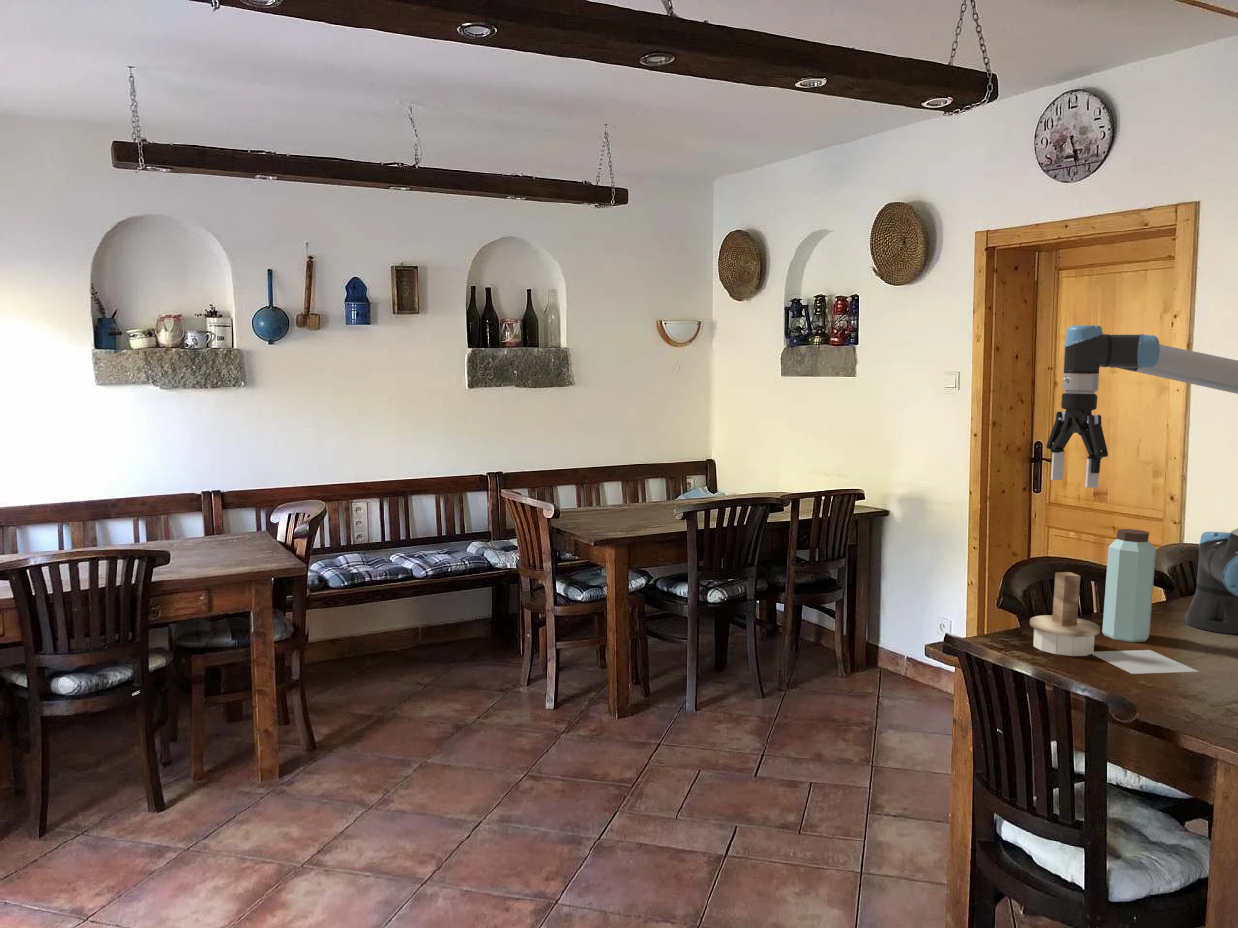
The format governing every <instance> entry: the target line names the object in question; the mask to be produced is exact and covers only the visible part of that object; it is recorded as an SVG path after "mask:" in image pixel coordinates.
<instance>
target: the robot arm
mask: <svg viewBox="0 0 1238 928" xmlns="http://www.w3.org/2000/svg"><path fill="white" fill-rule="evenodd" d="M1100 368H1112V369H1115V368H1116V369H1121V370H1126V371H1130V372H1136V373H1139V374H1144V375H1149V376H1154V377H1157V378H1158V377H1159V378H1164V379H1167V380H1171V381H1177V382H1182V383H1184V384H1185V383H1186V384H1190V385H1191V384H1192V385H1195V386H1200V387H1205V388H1209V389H1214V390H1218V391H1222V392H1223V391H1224V392H1227V393H1233V394H1236V395H1238V360H1236V359H1233V358H1227V357H1223V356H1217V355H1214V354H1207V353H1203V352H1198V351H1195V350H1189V349H1184V348H1179V347H1174V346H1168V345H1165V344H1160V339H1159V338H1158V337H1157V335H1153V334H1143V333H1142V334H1107V333H1103V327H1102V326H1101V325H1089V324H1088V325H1086V324H1085V325H1082V324H1081V325H1070V326H1069V327H1068V328H1067V330H1066V337H1065V344H1064V359H1063V378H1062V391H1065V392H1063V393H1062V394H1061V403H1060V404H1061V406H1060V407H1061V409H1063V410H1065V411H1057V412H1056V414H1055V421H1054V424H1053V426H1052V429H1051V432H1050V435H1049V438H1048V439H1047V443H1046V446H1045V447H1046V449H1049V450H1050V452H1051V462H1050V463H1051V469H1050V471H1051V472H1050V480H1051V481H1064V469H1065V468H1064V467H1065V454H1066V453H1065V452H1066V451H1065V447H1066V446H1067V444H1068V443H1069V441H1070V439H1071V437H1072V436H1073V435H1074V434H1075V433H1076V434H1078V435H1079V436H1080V437H1081V440H1082V442H1083V444H1084V447H1085V449H1086V451H1087V454H1088V456H1087V457H1086V469H1085V470H1086V471H1085V483H1084V487H1085V488H1099V477H1100V471H1101V460H1102V459H1103V458H1107V457H1109V453H1108V448H1107V444H1106V439H1105V435H1104V430H1103V426H1102V415H1100V414H1092V413H1093V412H1092V411H1095V410H1097V407H1098V406H1097V405H1098V394H1096V392H1098V391H1099V383H1100V382H1099V380H1100V379H1099V378H1100ZM1199 541H1200V542H1199V544H1198V547H1199V548H1198V551H1199V552H1198V562H1197V564H1198V565H1197V575H1196V589H1195V593H1194V595H1193V597H1192V600H1191V603H1189V604H1190V605H1189V608H1188V609H1187V610H1186V612H1185V623H1186V624H1188V626H1191V627H1193V628H1197V629H1201V630H1205V631H1209V632H1210V631H1211V632H1214V633H1219V634H1220V633H1221V634H1230V635H1238V528H1235V529H1233V530H1231V531H1230V532H1226V531H1225V532H1224V531H1223V532H1222V531H1221V532H1220V531H1204V532H1203V533H1202V534H1201V536H1200V540H1199Z"/></svg>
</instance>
